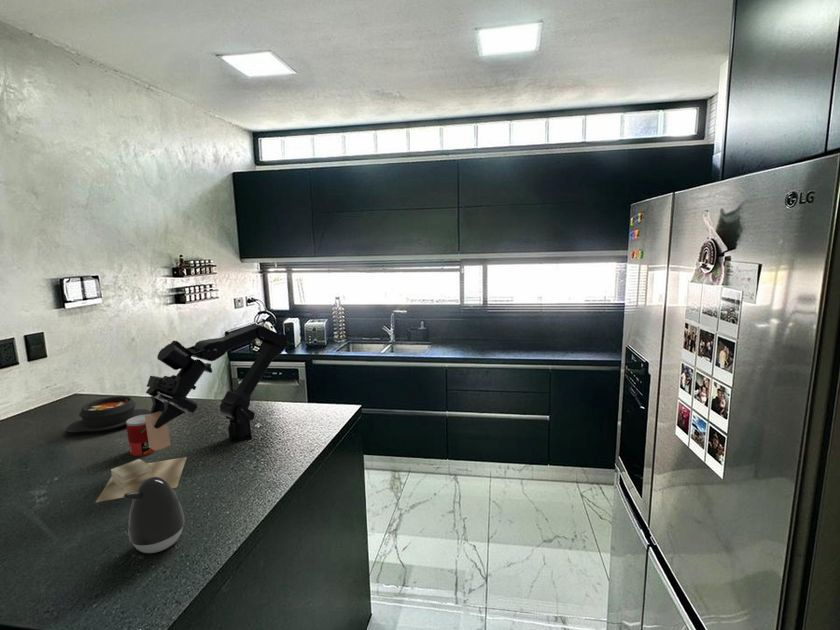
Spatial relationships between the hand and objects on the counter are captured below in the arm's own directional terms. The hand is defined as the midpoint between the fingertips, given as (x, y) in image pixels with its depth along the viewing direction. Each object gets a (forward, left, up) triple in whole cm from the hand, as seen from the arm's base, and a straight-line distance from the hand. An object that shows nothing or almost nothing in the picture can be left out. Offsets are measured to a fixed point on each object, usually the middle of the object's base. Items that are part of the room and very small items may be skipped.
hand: (151, 426), depth 122 cm
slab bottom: (+5, +4, -13) cm, 15 cm away
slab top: (+5, +4, -11) cm, 13 cm away
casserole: (+23, -45, -14) cm, 53 cm away
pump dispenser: (-7, +36, -14) cm, 39 cm away
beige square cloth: (+2, +4, -14) cm, 14 cm away
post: (-1, -1, -6) cm, 7 cm away
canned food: (+6, -15, -14) cm, 22 cm away
